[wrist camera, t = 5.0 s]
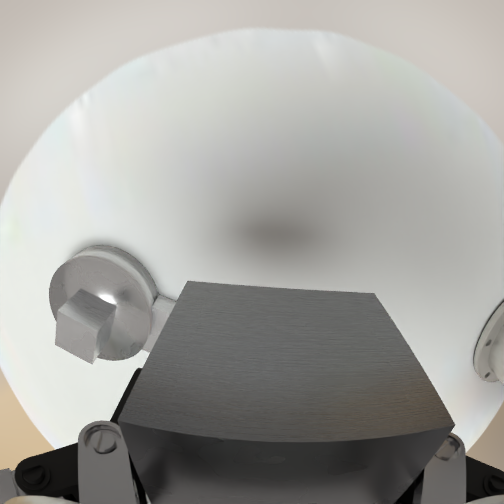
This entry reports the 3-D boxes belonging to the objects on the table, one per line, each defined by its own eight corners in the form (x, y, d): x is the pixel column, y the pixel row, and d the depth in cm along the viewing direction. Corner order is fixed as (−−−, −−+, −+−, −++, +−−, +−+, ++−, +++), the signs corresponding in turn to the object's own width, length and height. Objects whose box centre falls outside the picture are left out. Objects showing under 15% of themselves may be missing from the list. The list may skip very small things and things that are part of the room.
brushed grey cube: (373, 293, 10) (455, 425, 4) (336, 418, 12) (360, 536, 6) (187, 280, 10) (117, 420, 4) (193, 410, 12) (165, 532, 6)
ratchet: (62, 314, 25) (26, 353, 19) (75, 228, 23) (28, 255, 16) (271, 399, 28) (274, 452, 22) (319, 329, 25) (334, 382, 19)
